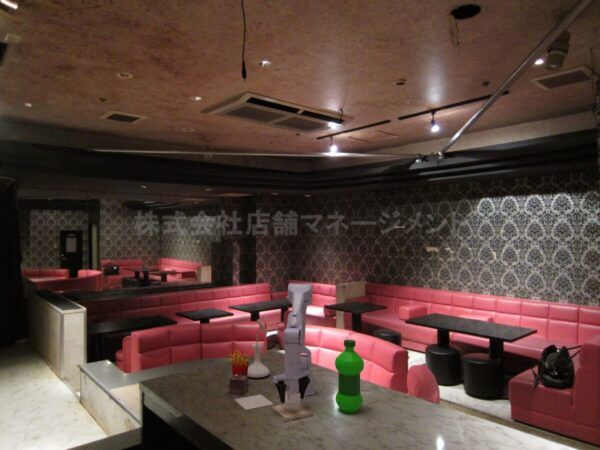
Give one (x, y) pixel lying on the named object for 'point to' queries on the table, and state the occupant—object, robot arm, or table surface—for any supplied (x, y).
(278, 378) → the robot arm
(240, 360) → the french fries
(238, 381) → the box
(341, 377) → the plastic bottle
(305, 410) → the stand
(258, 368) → the flower in vase
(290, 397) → the block
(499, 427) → the table surface
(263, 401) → the stand
